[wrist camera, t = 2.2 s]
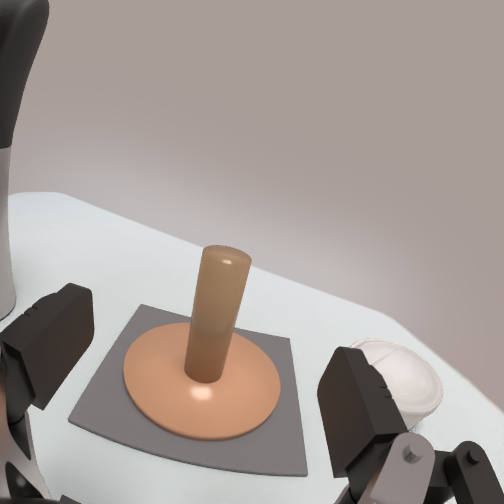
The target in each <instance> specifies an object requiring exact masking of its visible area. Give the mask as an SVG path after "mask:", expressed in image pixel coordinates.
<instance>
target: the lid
mask: <svg viewBox="0 0 504 504" xmlns="http://www.w3.org/2000/svg"><path fill="white" fill-rule="evenodd" d="M251 261H252V259H251V257H250V256H249V255H248V254H246V253H244V252H243V251H240V250H238V249H235V248H232V247H227V246H220V245H212V246H207V247H205V248H204V249H203V252H202V258H201V263H200V269H199V274H198V280H197V286H196V292H195V297H194V303H193V310H192V316H191V322H190V323H174V324H168V325H163V326H160V327H156V328H154V329H151V330H149V331H147V332H146V333H144V334H142V335H141V336H140V337H138V338H137V339H136V340H135V341H134V342H133V343H132V345H131V346H130V347H129V349H128V351H127V353H126V356H125V360H124V369H123V371H124V381H125V386H126V389H127V392H128V395H129V397H130V399H131V400H132V402H133V404H134V405H135V406H136V408H137V409H138V410H139V411H140V412H141V413H142V414H143V415H144V416H145V417H146V418H147V419H148V420H150V421H151V422H152V423H153V424H155V425H156V426H158V427H160V428H162V429H163V430H165V431H167V432H170V433H172V434H174V435H177V436H180V437H183V438H187V439H192V440H198V441H212V442H214V441H226V440H230V439H235V438H238V437H241V436H244V435H247V434H248V433H250V432H252V431H254V430H256V429H257V428H258V427H260V426H261V425H262V424H263V423H264V422H265V421H266V420H267V419H268V418H269V416H270V415H271V413H272V412H273V410H274V408H275V406H276V404H277V401H278V399H279V395H280V378H279V375H278V372H277V369H276V368H275V366H274V364H273V362H272V361H271V360H270V358H269V357H268V356H267V355H266V354H265V353H264V352H263V351H262V350H261V349H260V348H259V347H258V346H256V345H255V344H254V343H252V342H251V341H249V340H248V339H246V338H244V337H242V336H240V335H239V334H236V333H234V332H233V331H234V327H235V323H236V319H237V315H238V312H239V308H240V304H241V300H242V296H243V292H244V288H245V285H246V281H247V277H248V273H249V269H250V265H251Z"/></svg>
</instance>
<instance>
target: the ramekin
mask: <svg viewBox="0 0 504 504" xmlns="http://www.w3.org/2000/svg"><path fill="white" fill-rule="evenodd" d="M350 348H357V349H361V350H362V351H363V353H364V355H365V357H366V359H367V361H368V363H369V365H373V366H374V367H375V368H376V370H377V371H378V372H379V373H380V374H381V375H382V376H383V378H384V380H385V382H386V384H387V386H388V388H387V389H389V390H390V392H391V394H392V399H394V401H395V403H396V405H397V407H398V409H399V411H400V414H401V416H402V418H403V420H404V422H405V425H406V427H407V429H408V430H409V429H411V428H412V427H413V426H415V425H416V424H417V423H418V422H420V421H421V420H422V419H423V418H424V417H426V416H428V415H430V414H431V413H433V412H434V411H435V409H436V408H437V407H438V406H439V404H440V403H441V401H442V397H443V385H442V382H441V380H440V378H439V376H438V374H437V373H436V371H435V370H434V369H433V368H432V366H431V365H430V364H429V363H428V362H427V361H426V360H424V359H423V358H422V357H421V356H419V355H418V354H416V353H415V352H413V351H412V350H410V349H408V348H406V347H404V346H402V345H399V344H397V343H394V342H391V341H387V340H382V339H364V340H360V341H358V342H355V343H354V344H353V345H351V346H350Z"/></svg>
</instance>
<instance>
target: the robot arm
mask: <svg viewBox="0 0 504 504" xmlns="http://www.w3.org/2000/svg"><path fill="white" fill-rule="evenodd" d="M48 17H49V2H48V0H0V319H2V318H4V317H5V316H6V315H7V314H9V312H10V311H11V310H12V309H13V307H14V305H15V302H16V294H15V288H14V282H13V275H12V266H11V257H10V246H9V231H8V180H9V163H10V153H11V146H10V145H11V144H12V138H13V131H14V127H15V123H16V120H17V116H18V112H19V108H20V104H21V99H22V95H23V91H24V88H25V85H26V81H27V78H28V75H29V72H30V69H31V67H32V64H33V61H34V58H35V56H36V53H37V51H38V48H39V45H40V43H41V40H42V37H43V34H44V32H45V29H46V25H47V20H48ZM93 336H94V317H93V300H92V292H91V290H90V289H88V288H85V287H82V286H79V285H76V284H73V283H68V284H67V285H66V286H64V287H63V288H62V289H61V290H59V291H58V292H57V293H52V294H50V295H47V296H45V297H42V298H41V299H39V300H38V301H37V302H36V303H34V304H33V305H32V307H30V308H28V309H27V310H26V311H25V312H24V314H21V315H20V316H19V317H18V318H17V319H15V320H14V321H13V322H12V323H11V324H10V325H9V326H7V327H6V328H5V329H4V330H3V331H2V332H1V333H0V504H81V503H78V502H76V501H74V500H72V499H70V498H68V497H66V496H64V495H62V496H61V499H60V501H57V500H52V499H51V496H50V493H49V490H48V487H47V485H46V483H45V480H44V478H43V476H42V475H41V473H40V470H39V468H38V465H37V461H36V456H35V451H34V446H33V441H32V435H31V428H30V421H29V414H28V411H27V409H28V407H29V406H30V404H32V405H34V406H36V407H37V408H39V409H41V410H44V409H45V407H46V406H47V404H48V403H49V401H50V400H51V398H52V397H53V396H54V394H55V393H56V391H57V390H58V388H59V387H60V385H61V384H62V383H63V381H64V380H65V378H66V377H67V376H68V374H69V373H70V371H71V370H72V369H73V367H74V366H75V365H76V363H77V362H78V361H79V359H80V358H81V356H82V355H83V354H84V352H85V351H86V350H87V348H88V347H89V346H90V344H91V342H92V340H93ZM387 388H388V386H387V384H386V382H385V380H384V378H383V376H382V375H381V374H380V373H379V372H378V371H377V370H376V368H375V367H374V366H373V365H369V363H368V361H367V359H366V357H365V355H364V353H363V351H362V350H361V349H357V348H348V347H338V348H337V349H336V350H335V352H334V354H333V356H332V358H331V360H330V362H329V364H328V366H327V368H326V370H325V372H324V374H323V375H322V377H321V379H320V382H319V385H318V390H317V397H318V402H319V407H320V412H321V416H322V421H323V426H324V431H325V435H326V440H327V445H328V450H329V455H330V460H331V466H332V471H333V476H334V478H343V477H348V480H349V484H348V485H346V487H345V488H344V489H343V491H342V493H341V494H340V496H339V497H338V499H337V500H336V502H335V503H334V504H444V503H445V502H446V501H448V500H449V499H451V498H452V497H454V496H455V499H456V502H457V504H504V493H503V491H502V488H501V486H500V484H499V481H498V479H497V477H496V474H495V472H494V470H493V468H492V466H491V463H490V461H489V459H488V457H487V455H486V453H485V451H484V450H483V449H482V447H481V446H479V445H478V444H476V443H475V442H472V441H464V442H462V443H460V444H459V445H458V446H457V447H456V448H455V449H454V450H453V451H452V452H445V451H436V450H434V449H433V447H432V445H431V444H430V442H429V441H428V440H427V439H425V438H424V437H423V436H421V435H419V434H416V433H409V431H408V429H407V427H406V425H405V422H404V420H403V418H402V416H401V414H400V411H399V409H398V407H397V405H396V403H395V401H394V399H392V394H391V392H390V390H389V389H387Z"/></svg>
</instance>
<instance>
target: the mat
mask: <svg viewBox="0 0 504 504" xmlns="http://www.w3.org/2000/svg"><path fill="white" fill-rule="evenodd" d="M190 322H191V317H187V316H184V315H180V314H176V313H172V312H168V311H165V310H161V309H157V308H154V307H150V306H147V305H143V304H141V305H140V306H139V307H138V309H137V310H136V312H135V313H134V315H133V316H132V318H131V319H130V320H129V322H128V323H127V325H126V326H125V328H124V329H123V331H122V332H121V334H120V335H119V337H118V338H117V340H116V341H115V343H114V344H113V346H112V347H111V349H110V350H109V352H108V354H107V355H106V357H105V358H104V360H103V361H102V363H101V364H100V366H99V368H98V369H97V371H96V372H95V374H94V376H93V377H92V379H91V380H90V382H89V384H88V385H87V387H86V389H85V390H84V392H83V394H82V395H81V397H80V399H79V400H78V402H77V404H76V405H75V407H74V409H73V411H72V412H71V414H70V416H69V417H68V421H69V422H70V423H72V424H74V425H77V426H79V427H81V428H83V429H85V430H88V431H90V432H92V433H94V434H97V435H99V436H102V437H104V438H107V439H109V440H112V441H114V442H117V443H120V444H123V445H125V446H128V447H131V448H134V449H137V450H140V451H143V452H147V453H150V454H153V455H157V456H160V457H164V458H168V459H172V460H176V461H180V462H184V463H188V464H193V465H198V466H203V467H208V468H214V469H220V470H226V471H233V472H241V473H250V474H261V475H274V476H307V475H308V470H307V462H306V454H305V446H304V438H303V430H302V422H301V415H300V408H299V400H298V393H297V386H296V379H295V372H294V366H293V359H292V352H291V346H290V339H289V338H284V337H279V336H273V335H268V334H263V333H258V332H253V331H248V330H243V329H239V328H234V331H233V332H234V333H236V334H239V335H240V336H242V337H244V338H246V339H248V340H249V341H251V342H252V343H254V344H255V345H256V346H258V347H259V348H260V349H261V350H262V351H263V352H264V353H265V354H266V355H267V356H268V357H269V358H270V360H271V361H272V362H273V364H274V366H275V368H276V369H277V372H278V375H279V378H280V395H279V399H278V401H277V404H276V406H275V408H274V410H273V412H272V413H271V415H270V416H269V418H268V419H267V420H266V421H265V422H264V423H263V424H262V425H261V426H260V427H258V428H257V429H256V430H254V431H252V432H250V433H248V434H247V435H244V436H241V437H238V438H235V439H230V440H226V441H214V442H212V441H198V440H192V439H187V438H183V437H180V436H177V435H174V434H172V433H170V432H167V431H165V430H163V429H162V428H160V427H158V426H156V425H155V424H153V423H152V422H151V421H150V420H148V419H147V418H146V417H145V416H144V415H143V414H142V413H141V412H140V411H139V410H138V409H137V408H136V406H135V405H134V404H133V402H132V400H131V399H130V397H129V395H128V392H127V389H126V386H125V381H124V371H123V369H124V360H125V356H126V353H127V351H128V349H129V347H130V346H131V345H132V343H133V342H134V341H135V340H136V339H137V338H138V337H140V336H141V335H142V334H144V333H146V332H147V331H149V330H151V329H154V328H156V327H160V326H163V325H168V324H174V323H190Z"/></svg>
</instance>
